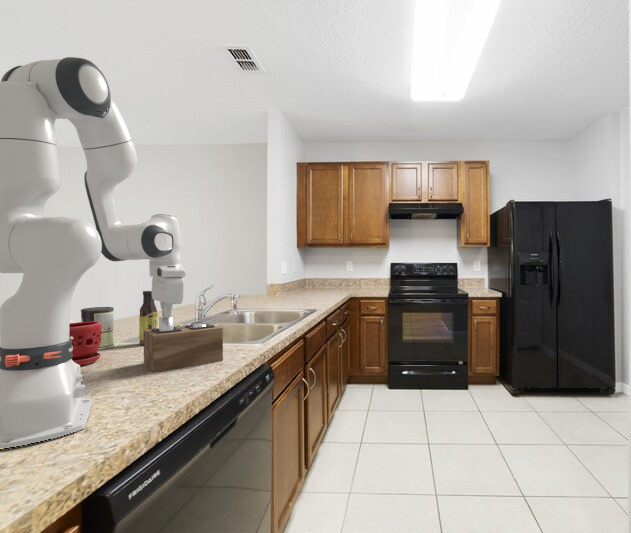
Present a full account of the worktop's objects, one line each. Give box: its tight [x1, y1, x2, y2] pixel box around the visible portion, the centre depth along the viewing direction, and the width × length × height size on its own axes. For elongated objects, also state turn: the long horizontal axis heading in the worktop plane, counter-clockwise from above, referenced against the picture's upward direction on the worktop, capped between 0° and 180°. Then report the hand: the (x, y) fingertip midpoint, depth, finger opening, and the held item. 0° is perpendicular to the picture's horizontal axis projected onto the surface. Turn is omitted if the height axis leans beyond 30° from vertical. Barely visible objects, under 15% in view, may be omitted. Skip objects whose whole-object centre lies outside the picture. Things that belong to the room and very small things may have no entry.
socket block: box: [143, 322, 224, 373], centre depth 115 cm, size 12×20×10 cm, turn 127°
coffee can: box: [80, 306, 115, 351], centre depth 136 cm, size 10×10×14 cm
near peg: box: [158, 316, 175, 331], centre depth 112 cm, size 4×4×10 cm
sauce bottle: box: [138, 290, 159, 346], centre depth 142 cm, size 7×6×20 cm
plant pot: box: [69, 321, 102, 366], centre depth 115 cm, size 13×13×12 cm
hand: (166, 317), depth 112 cm, fingers closed, pressing on near peg
